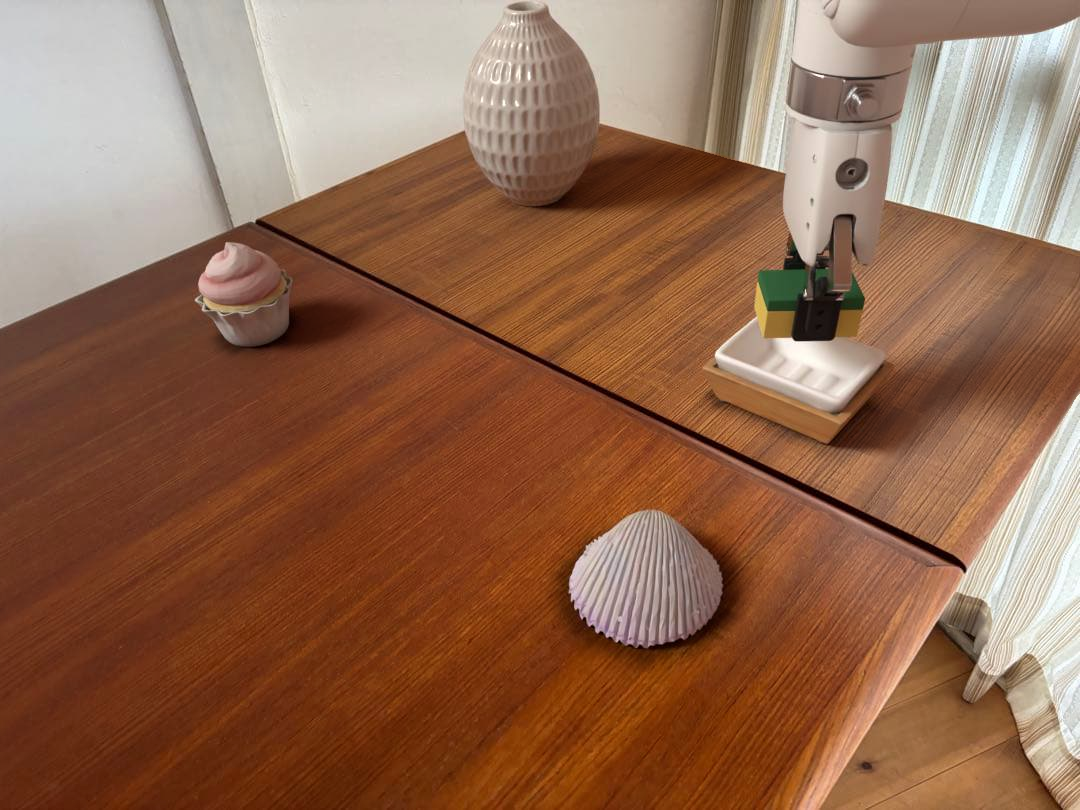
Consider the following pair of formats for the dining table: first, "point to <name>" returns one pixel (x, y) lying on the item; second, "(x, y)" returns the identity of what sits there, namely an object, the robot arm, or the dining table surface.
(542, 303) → the dining table surface
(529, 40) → the vase
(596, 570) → the seashell
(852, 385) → the soap dish
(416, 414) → the dining table surface
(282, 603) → the dining table surface
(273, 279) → the cupcake
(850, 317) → the scrub sponge
